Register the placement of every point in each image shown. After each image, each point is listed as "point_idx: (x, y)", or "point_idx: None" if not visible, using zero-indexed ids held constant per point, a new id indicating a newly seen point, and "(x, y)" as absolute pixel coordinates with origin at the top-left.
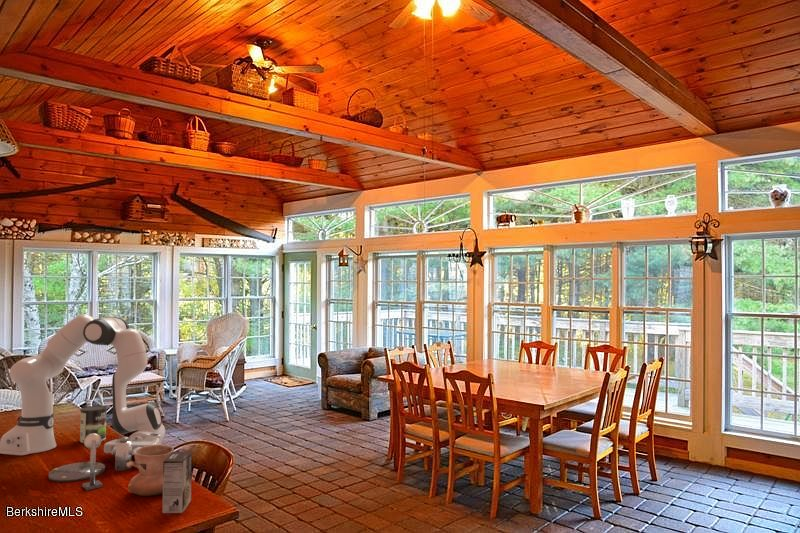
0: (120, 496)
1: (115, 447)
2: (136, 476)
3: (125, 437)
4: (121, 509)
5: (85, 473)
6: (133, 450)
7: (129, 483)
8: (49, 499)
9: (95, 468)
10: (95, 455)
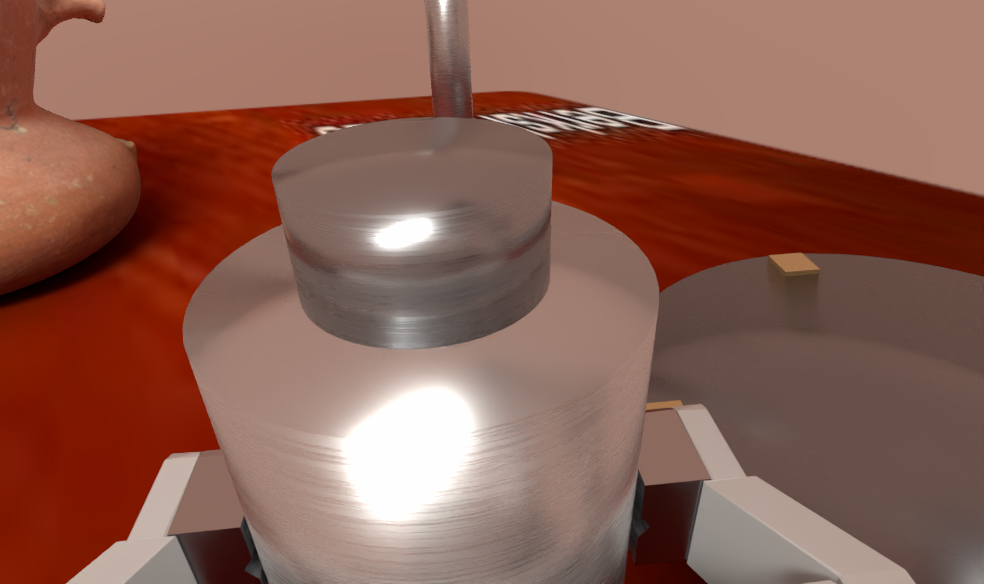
0: (204, 211)
1: (809, 550)
2: (68, 122)
3: (372, 169)
4: (164, 157)
5: (709, 339)
6: (176, 457)
7: (130, 152)
8: (571, 165)
9: (769, 461)
10: (425, 9)
